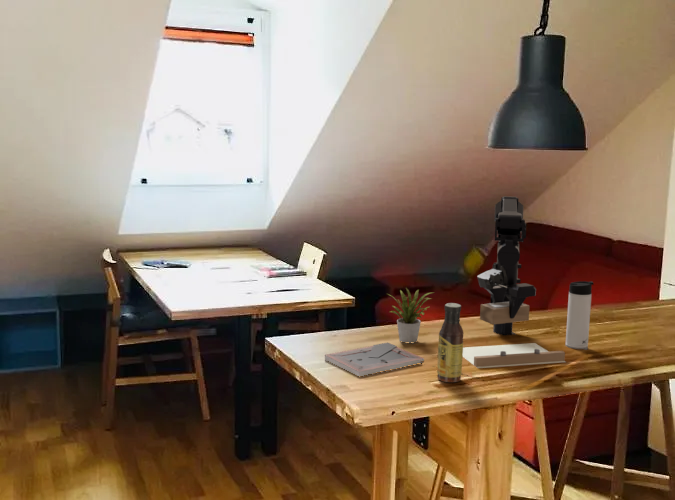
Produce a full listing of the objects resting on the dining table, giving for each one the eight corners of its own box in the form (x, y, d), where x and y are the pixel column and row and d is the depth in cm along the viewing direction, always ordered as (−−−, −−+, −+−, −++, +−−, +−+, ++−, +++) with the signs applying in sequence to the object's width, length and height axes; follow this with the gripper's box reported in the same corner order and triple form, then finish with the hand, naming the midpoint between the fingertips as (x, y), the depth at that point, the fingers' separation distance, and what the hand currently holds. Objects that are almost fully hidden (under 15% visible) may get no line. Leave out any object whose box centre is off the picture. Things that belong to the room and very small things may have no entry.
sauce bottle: (434, 375, 202) (437, 301, 199) (458, 375, 203) (461, 301, 199) (439, 384, 196) (442, 307, 192) (464, 384, 196) (467, 307, 193)
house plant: (445, 341, 232) (448, 288, 230) (417, 351, 222) (419, 295, 220) (408, 332, 242) (409, 280, 239) (379, 341, 232) (380, 287, 229)
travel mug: (589, 352, 224) (594, 284, 220) (566, 350, 225) (570, 283, 222) (587, 346, 230) (592, 279, 226) (564, 344, 231) (568, 278, 228)
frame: (479, 319, 216) (480, 303, 215) (515, 315, 221) (516, 299, 220) (492, 324, 211) (493, 308, 210) (528, 320, 215) (529, 304, 215)
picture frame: (387, 350, 226) (324, 362, 214) (387, 342, 225) (324, 353, 214) (424, 366, 212) (358, 380, 200) (424, 357, 212) (359, 370, 200)
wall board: (451, 350, 224) (452, 336, 223) (534, 345, 230) (535, 331, 229) (477, 370, 206) (478, 355, 206) (566, 364, 212) (567, 349, 212)
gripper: (463, 256, 218) (461, 310, 221) (503, 268, 201) (500, 326, 204) (496, 253, 223) (494, 307, 225) (538, 265, 206) (535, 322, 208)
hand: (504, 315), depth 216 cm, fingers closed on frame, 6 cm apart
